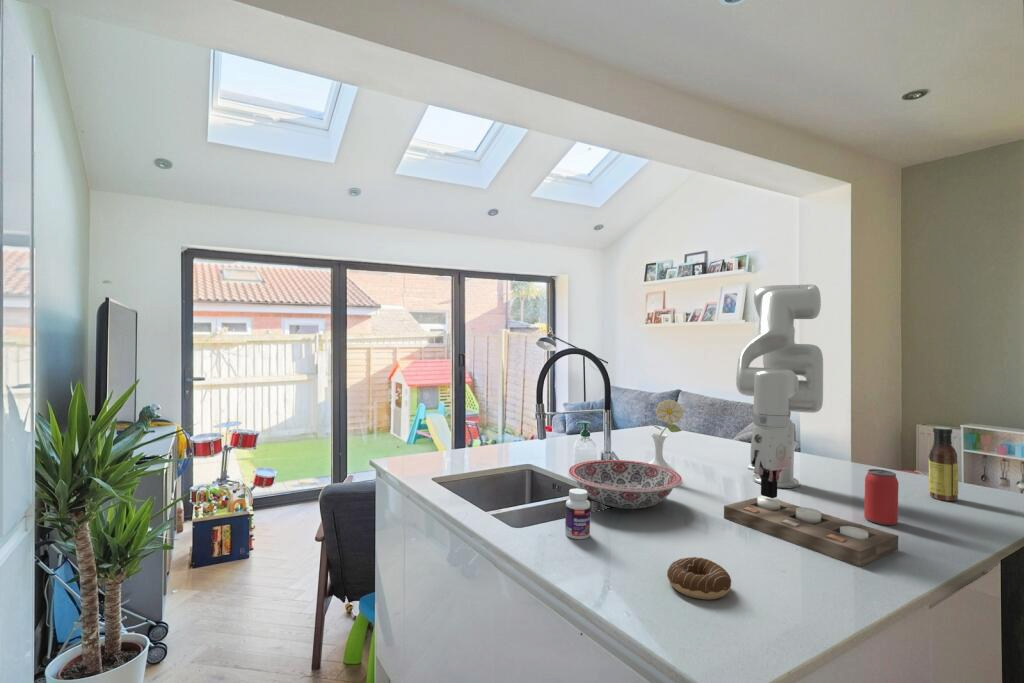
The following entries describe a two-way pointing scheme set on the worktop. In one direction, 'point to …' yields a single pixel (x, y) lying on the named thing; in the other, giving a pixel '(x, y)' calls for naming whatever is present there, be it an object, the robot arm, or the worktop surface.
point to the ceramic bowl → (625, 482)
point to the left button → (768, 503)
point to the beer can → (881, 497)
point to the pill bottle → (577, 514)
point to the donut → (699, 578)
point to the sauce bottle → (943, 466)
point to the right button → (854, 532)
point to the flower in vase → (669, 414)
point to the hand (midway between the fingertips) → (768, 496)
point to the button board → (814, 532)
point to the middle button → (808, 515)
